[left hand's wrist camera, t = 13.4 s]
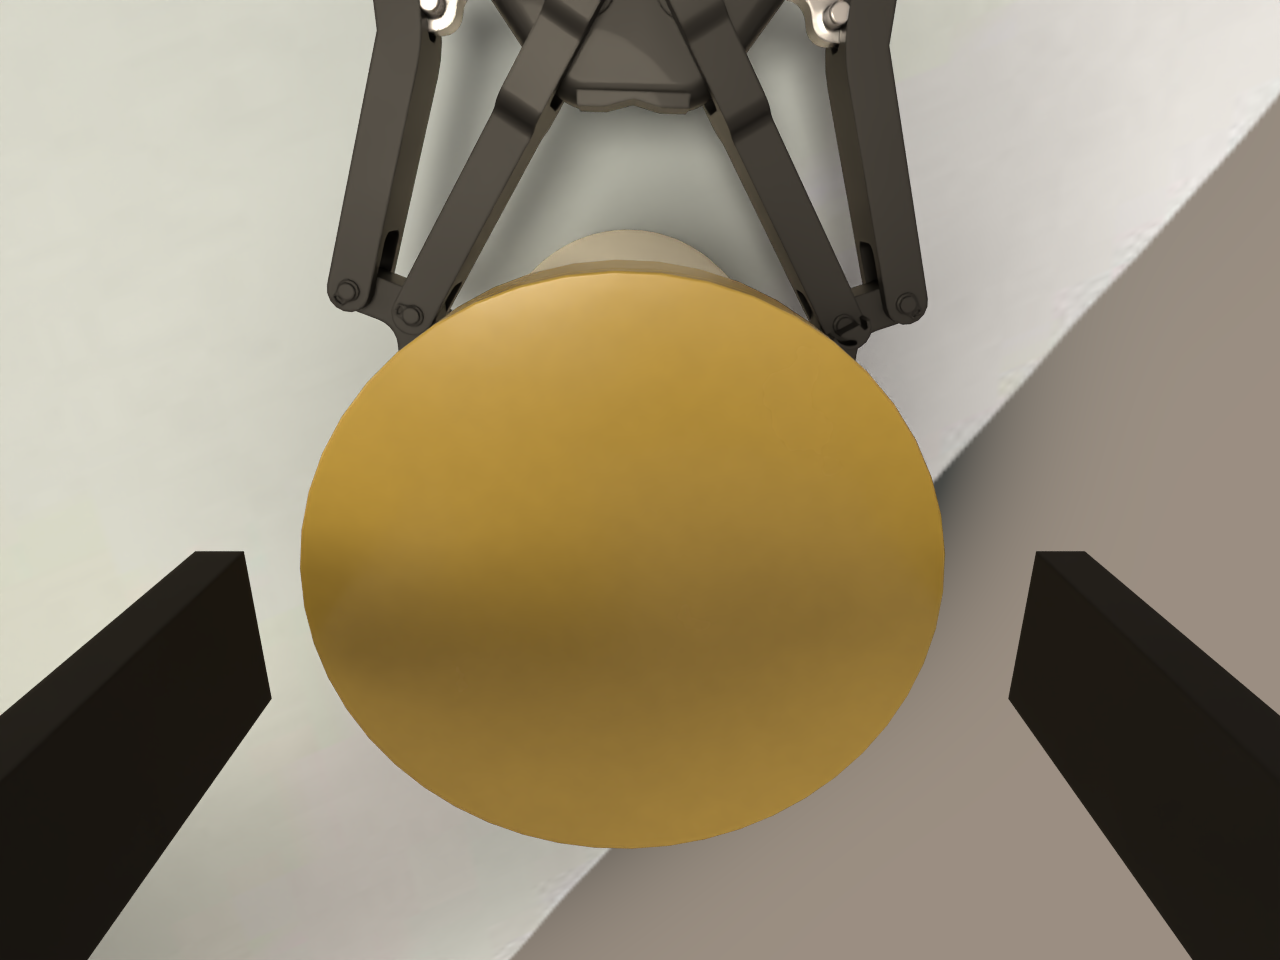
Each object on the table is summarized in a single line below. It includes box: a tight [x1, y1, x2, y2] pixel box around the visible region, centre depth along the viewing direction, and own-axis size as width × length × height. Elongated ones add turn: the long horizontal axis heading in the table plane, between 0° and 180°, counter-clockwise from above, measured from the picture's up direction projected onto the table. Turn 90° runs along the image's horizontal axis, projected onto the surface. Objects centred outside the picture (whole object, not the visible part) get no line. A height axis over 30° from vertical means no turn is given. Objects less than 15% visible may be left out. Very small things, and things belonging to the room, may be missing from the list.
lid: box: [300, 260, 945, 849], centre depth 15 cm, size 11×11×2 cm
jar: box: [530, 229, 730, 279], centre depth 23 cm, size 10×10×19 cm
